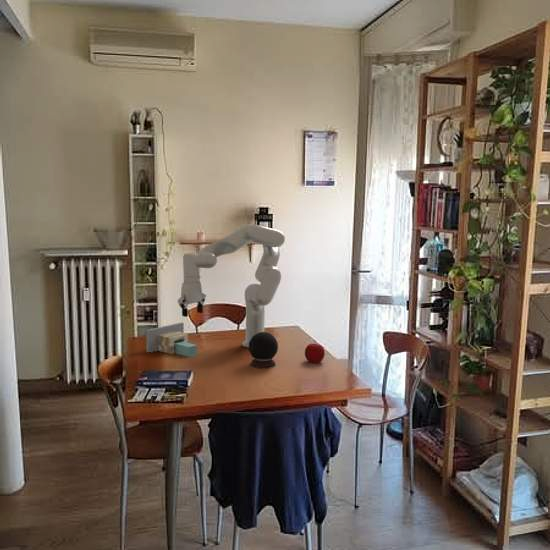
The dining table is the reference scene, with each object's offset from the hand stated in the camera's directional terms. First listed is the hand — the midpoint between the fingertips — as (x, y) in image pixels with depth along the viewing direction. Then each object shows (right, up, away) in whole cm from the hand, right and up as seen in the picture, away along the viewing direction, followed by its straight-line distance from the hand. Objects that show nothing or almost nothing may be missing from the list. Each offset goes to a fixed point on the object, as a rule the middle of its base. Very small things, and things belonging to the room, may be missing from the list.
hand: (192, 314), depth 254 cm
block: (-11, -18, +7) cm, 22 cm away
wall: (-15, -17, +10) cm, 25 cm away
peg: (-5, -19, +2) cm, 20 cm away
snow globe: (+34, -22, -13) cm, 43 cm away
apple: (+58, -22, -8) cm, 62 cm away
